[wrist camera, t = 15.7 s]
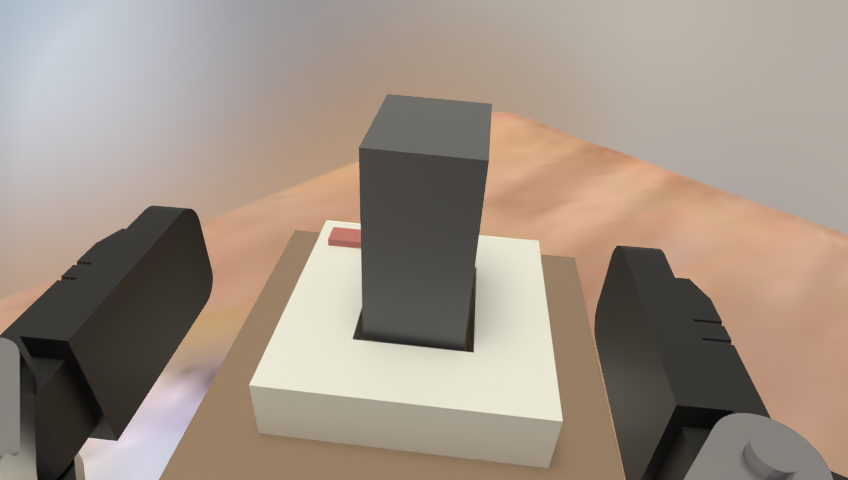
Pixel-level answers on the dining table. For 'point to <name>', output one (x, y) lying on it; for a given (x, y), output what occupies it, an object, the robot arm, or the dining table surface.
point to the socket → (406, 380)
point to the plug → (421, 218)
